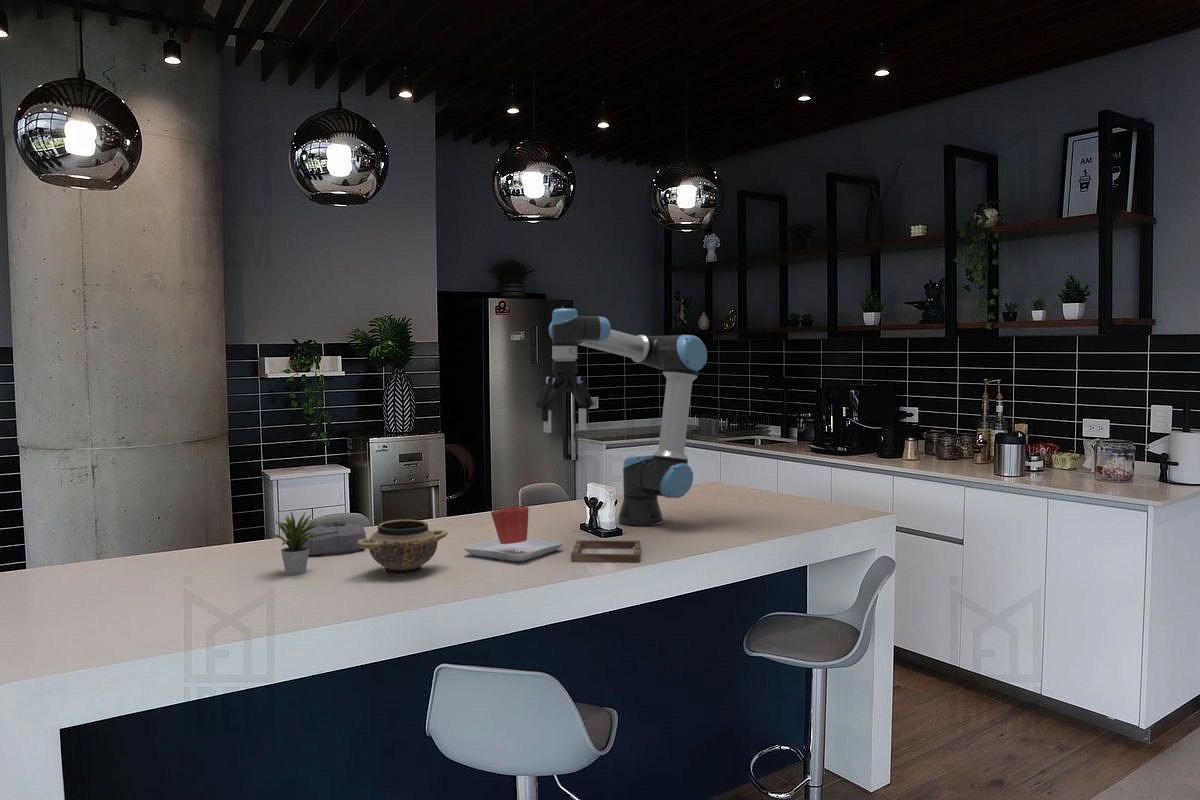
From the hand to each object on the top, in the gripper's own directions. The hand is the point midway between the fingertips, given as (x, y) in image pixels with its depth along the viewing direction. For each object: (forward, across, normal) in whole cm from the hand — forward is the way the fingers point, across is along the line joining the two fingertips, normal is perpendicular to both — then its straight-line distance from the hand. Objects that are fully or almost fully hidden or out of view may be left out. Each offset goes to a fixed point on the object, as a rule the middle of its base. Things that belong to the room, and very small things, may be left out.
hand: (565, 431), depth 261 cm
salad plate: (+36, -18, +2) cm, 40 cm away
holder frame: (+35, +1, -17) cm, 39 cm away
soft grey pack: (+35, -56, +42) cm, 78 cm away
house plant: (+35, -74, +22) cm, 85 cm away
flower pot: (+32, -18, +2) cm, 36 cm away
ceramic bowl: (+35, -52, +4) cm, 63 cm away
